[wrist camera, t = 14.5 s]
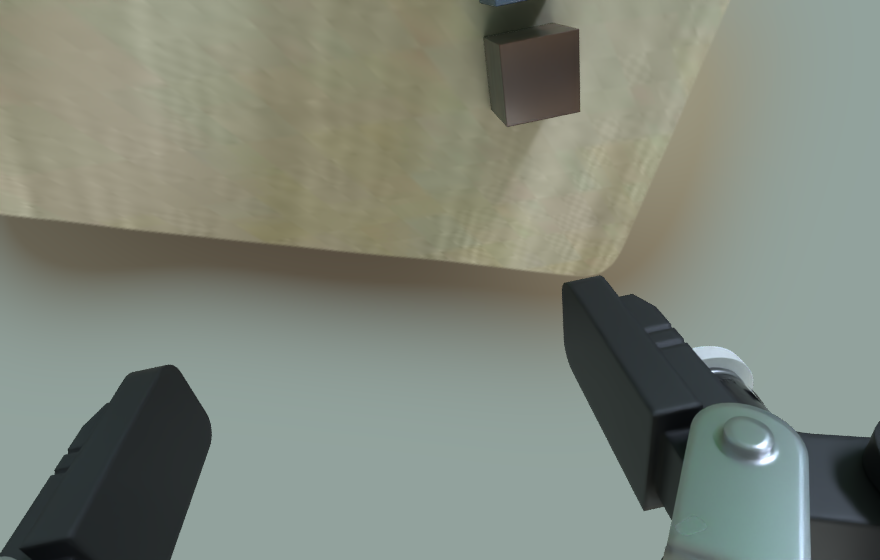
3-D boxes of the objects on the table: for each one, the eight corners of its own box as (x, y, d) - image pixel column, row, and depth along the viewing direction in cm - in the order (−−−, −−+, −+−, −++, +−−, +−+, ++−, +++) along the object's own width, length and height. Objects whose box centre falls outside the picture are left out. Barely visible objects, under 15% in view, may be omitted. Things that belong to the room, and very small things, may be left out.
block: (556, 96, 33) (580, 112, 30) (491, 110, 33) (506, 127, 30) (553, 22, 31) (579, 28, 27) (483, 37, 31) (499, 45, 27)
